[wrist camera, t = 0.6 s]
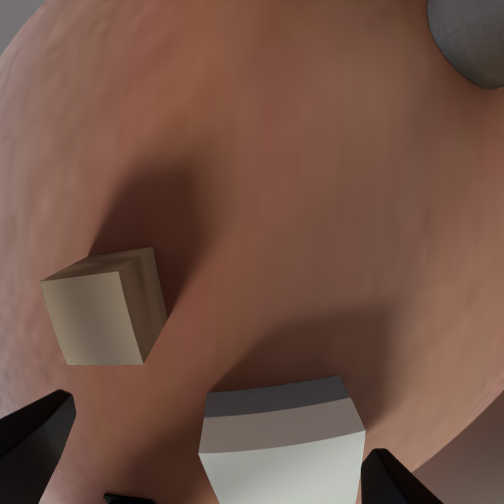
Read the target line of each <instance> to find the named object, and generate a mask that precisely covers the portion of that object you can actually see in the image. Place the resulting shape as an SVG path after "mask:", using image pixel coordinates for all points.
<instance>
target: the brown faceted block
mask: <svg viewBox="0 0 504 504" xmlns="http://www.w3.org/2000/svg"><path fill="white" fill-rule="evenodd" d="M40 284H41V287H42V291H43V295H44V298H45V302H46V305H47V308H48V312H49V315H50V318H51V321H52V324H53V327H54V330H55V333H56V336H57V339H58V342H59V344H60V347H61V350H62V352H63V355H64V358H65V360H66V363H67V365H135V364H144V362H145V360H146V359H147V357H148V355H149V353H150V351H151V349H152V347H153V345H154V344H155V342H156V340H157V338H158V336H159V334H160V333H161V331H162V329H163V327H164V325H165V323H166V322H167V320H168V316H167V312H166V308H165V304H164V299H163V295H162V290H161V285H160V281H159V276H158V271H157V266H156V261H155V256H154V251H153V247H147V248H141V249H134V250H127V251H121V252H114V253H108V254H101V255H95V256H89V257H86V258H84V259H82V260H80V261H78V262H76V263H74V264H72V265H70V266H68V267H66V268H65V269H63V270H61V271H59V272H57V273H55V274H53V275H51V276H49V277H48V278H46V279H44V280H42V281H40Z"/></svg>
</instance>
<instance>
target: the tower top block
mask: <svg viewBox="0 0 504 504" xmlns="http://www.w3.org/2000/svg"><path fill="white" fill-rule="evenodd" d="M365 432H366V430H365V428H364V426H363V423H362V421H361V419H360V417H359V415H358V412H357V410H356V408H355V406H354V404H353V401H352V399H351V397H350V398H346V399H341V400H336V401H331V402H326V403H321V404H316V405H310V406H305V407H299V408H293V409H286V410H279V411H272V412H264V413H256V414H247V415H237V416H225V417H211V418H204V422H203V428H202V434H201V440H200V446H199V452H198V454H199V457H200V459H201V462H202V464H203V467H204V469H205V471H206V474H207V476H208V478H209V481H210V483H211V485H212V488H213V490H214V492H215V494H216V497H217V499H218V501H219V503H220V504H355V502H356V496H357V491H358V485H359V478H360V472H361V465H362V457H363V449H364V441H365Z"/></svg>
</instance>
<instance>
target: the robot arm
mask: <svg viewBox="0 0 504 504" xmlns="http://www.w3.org/2000/svg"><path fill="white" fill-rule="evenodd" d="M75 417H76V409H75V404H74V399H73V395H72V394H71V393H69V392H67V391H64V390H62V389H59V390H56V391H54V392H52V393H51V394H49V395H47V396H45V397H43V398H41V399H39V400H37V401H35V402H33V403H31V404H29V405H27V406H25V407H23V408H21V409H19V410H17V411H15V412H13V413H11V414H9V415H7V416H5V417H3V418H1V419H0V504H38V503H39V501H40V499H41V497H42V495H43V493H44V491H45V488H46V486H47V484H48V482H49V480H50V478H51V476H52V474H53V472H54V470H55V468H56V466H57V464H58V462H59V460H60V458H61V455H62V453H63V450H64V447H65V444H66V441H67V439H68V436H69V433H70V431H71V428H72V425H73V423H74V420H75ZM103 498H104V499H105V500H106V502H107V503H108V504H155V503H154V502H153V501H151V500H147V499H138V498H130V497H123V496H116V495H110V494H104V496H103ZM361 498H362V504H443V503H442V502H441V501H440V500H439V499H438V498H437V497H436V496H435V495H434V494H432V492H431V491H429V490H428V489H427V488H426V487H425V486H424V485H423V484H422V483H421V482H420V481H419V480H418V479H417V478H416V477H415V476H414V475H413V474H412V473H411V472H410V471H409V470H408V469H407V468H406V467H405V466H404V465H402V464H401V463H400V462H399V461H398V460H397V459H396V458H395V457H394V456H393V455H392V454H391V453H390V452H389V451H388V450H387V449H385V448H376V449H373V450H372V451H371V452H370V454H369V455H368V456H367V458H366V459H365V460H364V461H363V463H362V465H361Z"/></svg>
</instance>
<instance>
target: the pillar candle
mask: <svg viewBox="0 0 504 504" xmlns="http://www.w3.org/2000/svg"><path fill="white" fill-rule="evenodd" d="M427 16H428V23H429V28H430V31H431V33H432V36H433V38H434V40H435V42H436V43H437V45H438V47H439V48H440V50H441V51H442V53H443V54H444V56H445V57H446V58H447V60H448V61H449V62H450V63H451V64H452V65H453V66H454V67H455V68H456V69H457V70H458V71H459V72H460V73H461V74H462V75H463V76H465V77H466V78H467V79H468V80H470V81H472V82H473V83H475V84H477V85H480V86H482V87H484V88H488V89H497V88H499V87H503V86H504V0H428V3H427Z"/></svg>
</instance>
